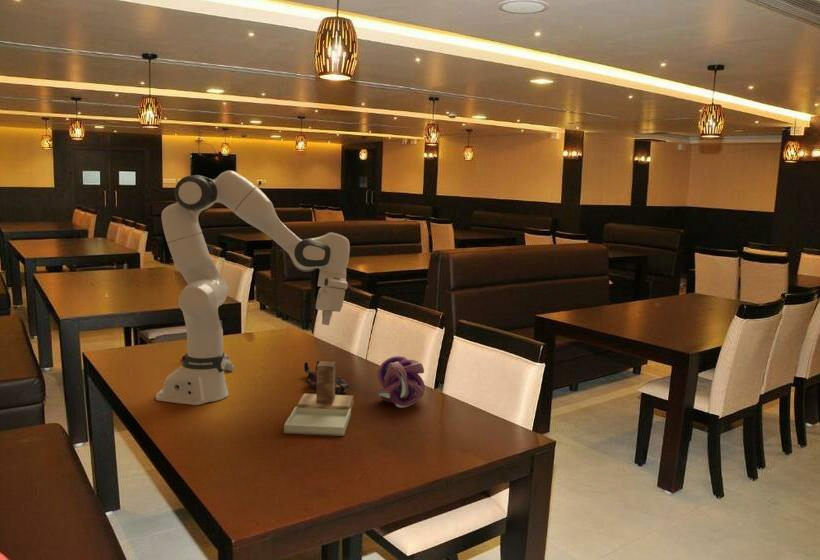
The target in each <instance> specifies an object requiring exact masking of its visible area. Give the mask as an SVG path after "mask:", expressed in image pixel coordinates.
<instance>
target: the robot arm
mask: <svg viewBox="0 0 820 560" xmlns="http://www.w3.org/2000/svg"><path fill="white" fill-rule="evenodd" d="M174 198H175V200H176V202H175V203H172V204H170V205H168V206H166V207H164V209H163V210H162V211H161V215H160V216H161V224H162V229H163V234H164V236H165V240H166V242H167V243H166V244H167V246H168V249H169V252H170V255H171V258H172V261H173V264H174V266H175V268H176V269H177V270H178V271H179V272H180V273H181V275H182V277H183V278H184V280H185V281H186V285H185V286H184V288H183V289H182V290H181V292H180V294H179V296H178V299H177V300H178V307H179V309H180V310H181V311H182V315H183V318H184V323H185V329H186V340H187V341H186V342H187V343H186V345H187V350H186V352H185V353H184V355H182V356H181V357H180V358H179V360H180V361H179V363H182V365H180V366H179V367H178V368H176V369H175V370H173V372H171V373H170V374H169V375H167V377H166V378H165V381H164V383H163V388H162V389H160V390H159V391H158V392H157V393H156V395H155V400H156V401H158V402H159V401H160V402H165V403H166V402H168V403H174V404H182V405H184V404H185V405H189V406H199V405H203V404H206V403H210V402H218V401H220V400H223V399H225V398H227V397H228V396H229V390H228V387H227V384H226V377H225V371H224V369H225V357H224V354H225V352H224V330H223V327H222V325H221V320H220V316H219V307H220V306H222V305H223V304H224V303H225V302H226V300H227V297H228V293H229V288H228V285H227V283H226V281H225V280H224V279H223V278H222V276H221V274H220V271H219V270H218V268H217V267H216V265H215V262H214V261H213V259H212V256H211V255H210V252H209V249H208V245H207V243H206V241H205V237H204V234H203V231H202V228H201V226H200V221H199V216H200V215H202V214H203V213H205V212H207V211H208V210H210V209H211V208H213V207H214V206H215V205H216V204H217V203H218V204H219V203H220V204H222V205H224V206H225V207H227V208H228V209H229V210H230V211H231V212H232V213H233V214H235V215H236V216H237V217H238V218H239V219H241V220H243V221H244V222H245V223H247V224H248V225H250V226H252V227H254V228H256V229H257V230H259V231H260V232H262V233H264V234H265V235H266V236H268V237H269V238H270V239H271V240H273V242H274V243H276V244H277V245H278V246H279V247H280V248H282V250H284V252H286V254H287V255H288V256H289V258H290V262H291V263H292V264H293V266H294V268H296V270H299V271H300V272H304V273H310V272H312V271H315V270H317V269H319V273H318V279H317V280H318V281H317V287H320V288H319V289H318V292H317V297H316V303H315V309H316V310H317V311H321V317H322V318H321V324H322V325H324V326H330V322H331V318H332V317H333V312H337V313H339V312H341V310H342V308H343V304H344V302H345V301H344V300H345V295H346V290H347V289H348V286H349V283H348V282H347V267H348V265H349V262H350V261H349V259H350V253H351V252H350V251H351V246H350V244H351V243H350V241H349V239H348V238H347V237H346V236H344V235H342V234H340V233H337V232H327V233H326V234H324V235H321V236H317V237H313V238H312V237H311V238H304V239H301V238H300V237H299V236H297V235H296V234H295V233H294V232H293V231H292V230H291V229H290V228H288V227H287V226H286V225H285V224H284V223H283V222H282V220H280V217H278V214H277V212H276V210H275V207H274V204H273V202H272V201H271V200H270V198H269V197H268V196H267V194H265V193H264V192H263V190H261V189H260V188H259V187H258V186H256V185H255V184H254V183H253V182H251V181H250V180H249V179H248V178H246V177H245V176H243V175H242V174H240V173H238V172H237V171H234V170H225V171H223V172H221V173H219V175H218V176H217V177H215V178H214V179H212V178H209V177H206V176H204V175H202V174H201V175H200V174H194V175H193V174H192V175H191V174H190V175H187V176H183V177H182V178H181V179H180V180H179V181H177V183H176V185H175V187H174ZM187 351H188V352H187Z"/></svg>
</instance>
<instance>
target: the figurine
mask: <svg viewBox="0 0 820 560" xmlns="http://www.w3.org/2000/svg"><path fill="white" fill-rule="evenodd" d="M319 362H320V360H319V361H316V365H315V371H313V370H310V367H309V365H308V364H309V363H308V362H306V361H305V362H304V363H303V364H304V365H303V366H304V367H303V368H304V372H305V373H306V374H307V377H306V384H309V385H310V386H311V387H312V388H314V390H315V391H316V392H317V365H318V363H319ZM349 388H350V386H349V383H348V382H347V381H346V380H344V379H343V378H342V375H341V376H340V375H337V378H335V395H341V394H342V393H344V392H346V391H347V390H348V389H349Z"/></svg>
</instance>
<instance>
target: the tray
mask: <svg viewBox="0 0 820 560" xmlns="http://www.w3.org/2000/svg"><path fill="white" fill-rule="evenodd" d="M351 415H352V410H351V409H349V410H344V409H322V408H300V407H298V405H297V406H294V408H293V410H292V411H291V413H290V415H289V416H288V418H287V419H286V421H285V423H284V425H283V434H292V435H295V434H296V435H311V436H312V435H313V436H333V437H335V436H338V437H344V436H345V435H346V434H345V433H346V431H347V427H348V425H349V423H350V420H351Z"/></svg>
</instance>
